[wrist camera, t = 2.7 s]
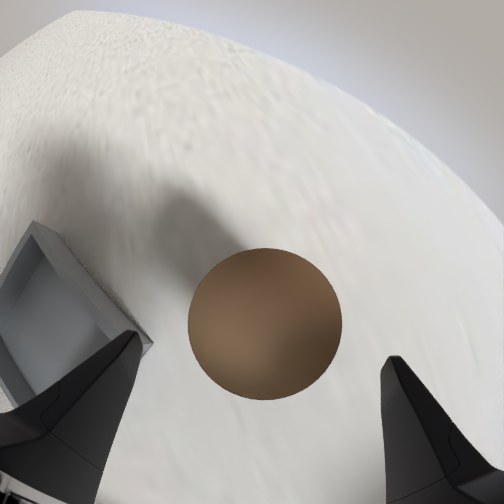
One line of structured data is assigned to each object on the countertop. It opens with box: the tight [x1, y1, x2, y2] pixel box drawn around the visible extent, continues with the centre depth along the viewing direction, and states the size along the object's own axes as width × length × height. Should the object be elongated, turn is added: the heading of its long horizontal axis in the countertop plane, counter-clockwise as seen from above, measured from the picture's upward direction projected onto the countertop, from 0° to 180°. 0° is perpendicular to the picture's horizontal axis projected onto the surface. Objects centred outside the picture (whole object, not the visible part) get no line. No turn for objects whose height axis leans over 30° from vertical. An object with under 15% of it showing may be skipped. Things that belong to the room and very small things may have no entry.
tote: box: [0, 220, 153, 409], centre depth 17 cm, size 14×14×4 cm
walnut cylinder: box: [188, 248, 342, 400], centre depth 14 cm, size 5×5×10 cm
